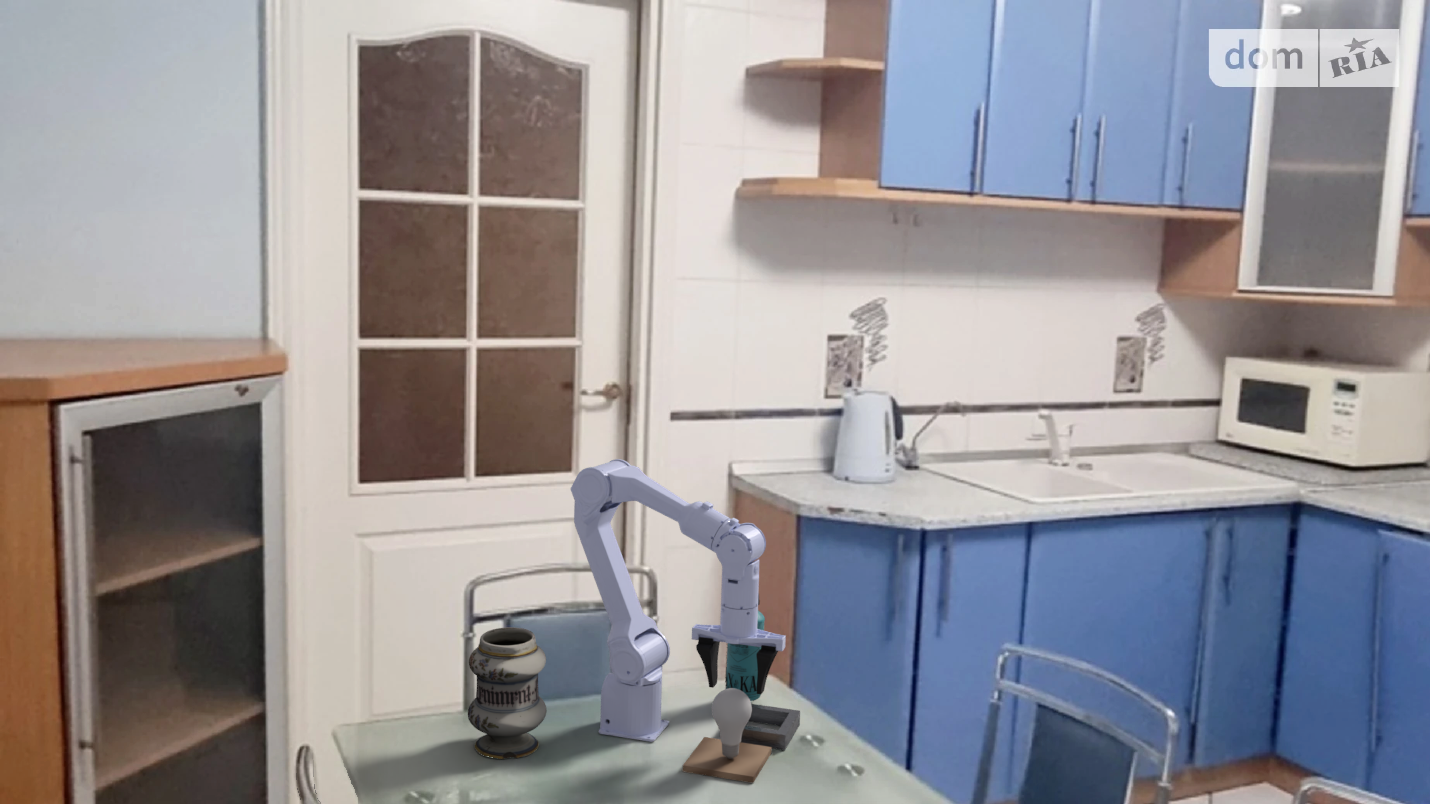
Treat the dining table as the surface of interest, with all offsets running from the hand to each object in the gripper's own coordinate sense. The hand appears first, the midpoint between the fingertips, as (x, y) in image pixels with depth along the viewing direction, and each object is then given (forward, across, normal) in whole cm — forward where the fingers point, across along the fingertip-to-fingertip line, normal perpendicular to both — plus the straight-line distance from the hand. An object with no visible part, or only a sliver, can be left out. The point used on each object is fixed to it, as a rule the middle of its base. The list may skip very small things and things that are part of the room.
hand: (736, 688), depth 186 cm
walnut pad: (+10, 0, -4) cm, 11 cm away
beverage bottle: (+11, -4, +20) cm, 23 cm away
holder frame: (+10, +2, +9) cm, 14 cm away
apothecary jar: (+11, -34, -10) cm, 37 cm away
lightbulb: (+10, +1, -4) cm, 11 cm away
